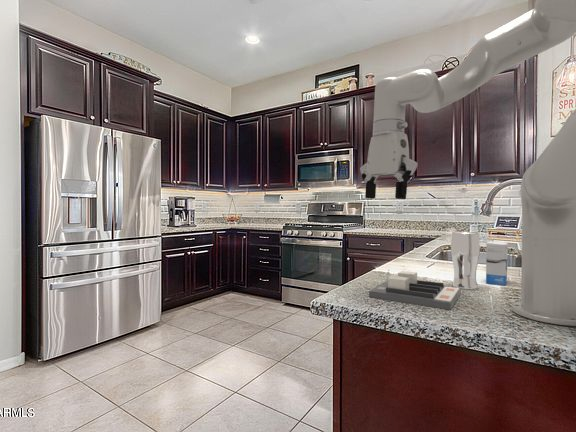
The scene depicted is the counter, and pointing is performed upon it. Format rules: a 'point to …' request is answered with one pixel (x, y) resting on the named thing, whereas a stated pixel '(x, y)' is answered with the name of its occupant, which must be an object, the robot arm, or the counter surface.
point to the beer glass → (465, 259)
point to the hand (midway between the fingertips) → (384, 198)
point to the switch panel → (419, 294)
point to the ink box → (496, 262)
